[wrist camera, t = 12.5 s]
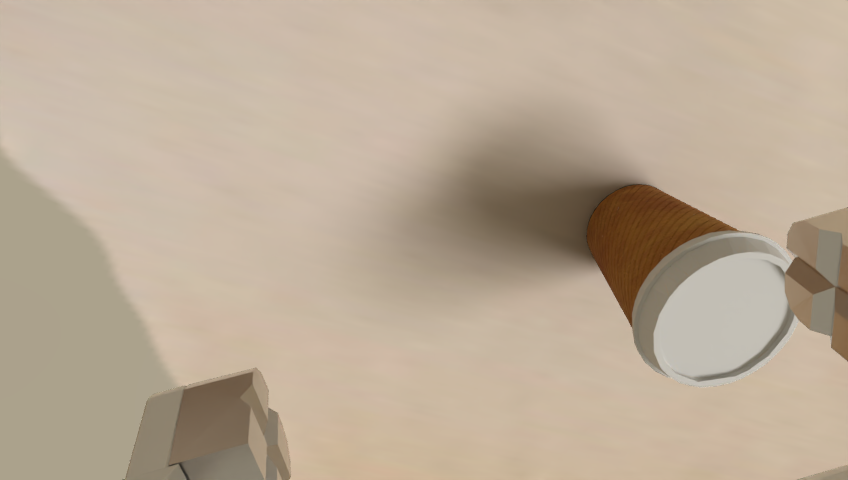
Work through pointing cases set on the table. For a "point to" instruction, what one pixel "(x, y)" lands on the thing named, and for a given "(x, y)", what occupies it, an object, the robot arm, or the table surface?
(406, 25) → the table surface
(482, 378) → the table surface
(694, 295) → the disposable coffee cup
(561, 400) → the table surface
